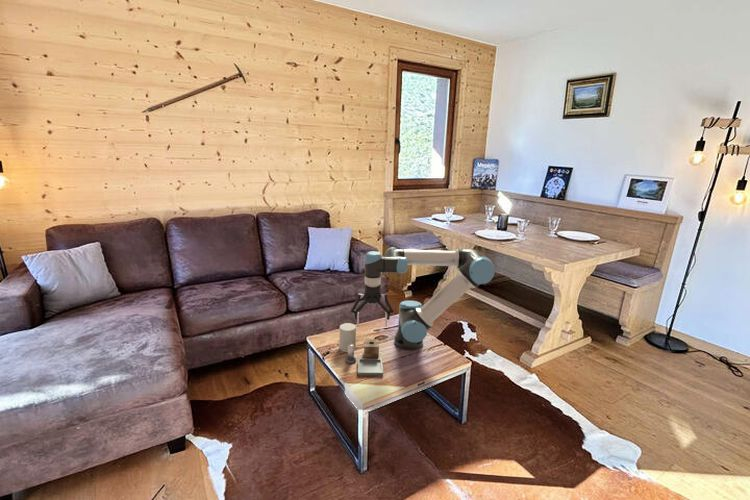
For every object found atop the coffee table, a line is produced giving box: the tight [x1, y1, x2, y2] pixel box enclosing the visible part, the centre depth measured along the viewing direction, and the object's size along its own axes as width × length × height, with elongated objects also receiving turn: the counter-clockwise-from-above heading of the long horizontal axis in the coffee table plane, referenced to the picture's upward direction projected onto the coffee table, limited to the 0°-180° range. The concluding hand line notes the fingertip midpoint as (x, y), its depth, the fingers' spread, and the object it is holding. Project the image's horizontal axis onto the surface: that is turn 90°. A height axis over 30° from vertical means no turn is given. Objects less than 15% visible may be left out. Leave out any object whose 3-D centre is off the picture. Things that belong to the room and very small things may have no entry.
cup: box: [339, 322, 357, 353], centre depth 192 cm, size 8×8×12 cm
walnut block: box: [363, 338, 380, 359], centre depth 186 cm, size 7×7×7 cm
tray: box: [357, 358, 384, 377], centre depth 176 cm, size 11×11×2 cm
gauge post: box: [345, 344, 357, 365], centre depth 181 cm, size 5×5×8 cm
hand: (371, 325), depth 182 cm, fingers open, 13 cm apart
